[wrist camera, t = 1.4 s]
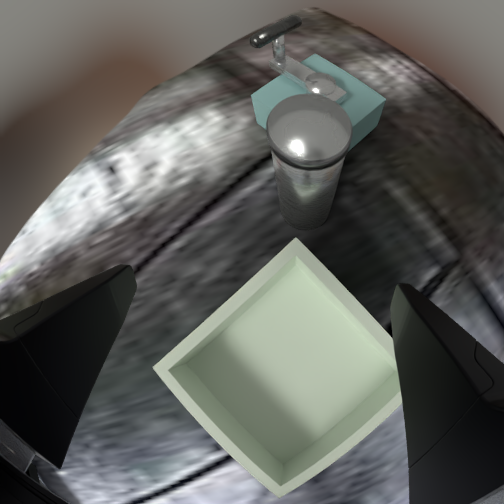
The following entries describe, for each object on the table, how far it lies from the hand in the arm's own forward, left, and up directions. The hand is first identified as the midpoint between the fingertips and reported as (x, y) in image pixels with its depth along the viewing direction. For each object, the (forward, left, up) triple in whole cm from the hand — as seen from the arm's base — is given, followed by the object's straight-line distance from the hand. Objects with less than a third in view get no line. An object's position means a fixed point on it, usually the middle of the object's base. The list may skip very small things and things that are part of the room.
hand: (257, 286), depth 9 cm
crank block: (+9, -14, -13) cm, 21 cm away
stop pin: (+4, -7, -13) cm, 15 cm away
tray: (-4, +3, -13) cm, 14 cm away
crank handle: (+11, -14, -9) cm, 20 cm away
